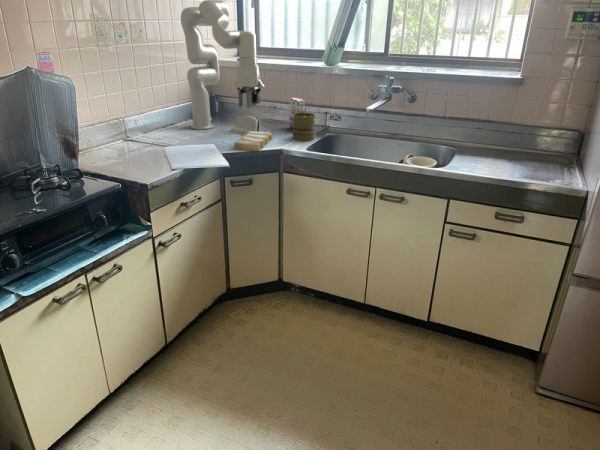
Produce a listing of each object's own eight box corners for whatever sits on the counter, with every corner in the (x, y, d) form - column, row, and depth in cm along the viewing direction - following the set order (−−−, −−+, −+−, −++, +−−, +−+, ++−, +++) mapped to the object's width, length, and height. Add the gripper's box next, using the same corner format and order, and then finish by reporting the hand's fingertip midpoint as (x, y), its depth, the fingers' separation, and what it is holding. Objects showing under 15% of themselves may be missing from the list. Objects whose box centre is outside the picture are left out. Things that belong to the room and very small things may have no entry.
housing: (238, 107, 204) (238, 89, 201) (250, 102, 216) (249, 85, 213) (249, 107, 203) (248, 89, 199) (260, 102, 215) (259, 85, 212)
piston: (291, 116, 219) (293, 112, 229) (291, 140, 224) (293, 135, 234) (314, 117, 218) (315, 112, 228) (313, 141, 223) (315, 136, 233)
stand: (250, 137, 229) (249, 130, 227) (272, 138, 227) (272, 132, 225) (234, 149, 207) (234, 142, 206) (259, 151, 205) (259, 144, 204)
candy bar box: (305, 131, 242) (306, 100, 235) (297, 132, 240) (297, 101, 233) (297, 127, 251) (297, 97, 244) (289, 127, 249) (289, 97, 242)
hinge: (230, 131, 239) (234, 112, 238) (236, 132, 243) (240, 114, 242) (253, 136, 230) (257, 117, 229) (259, 137, 234) (263, 118, 233)
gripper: (227, 61, 200) (229, 102, 208) (263, 62, 196) (264, 104, 204) (234, 60, 207) (236, 100, 214) (268, 61, 203) (269, 102, 210)
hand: (249, 101), depth 209 cm, fingers closed on housing, 5 cm apart
